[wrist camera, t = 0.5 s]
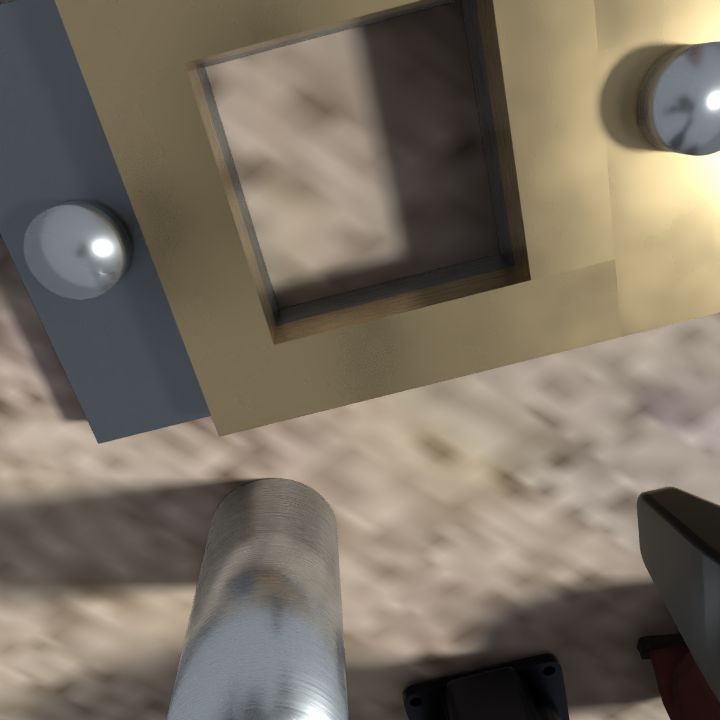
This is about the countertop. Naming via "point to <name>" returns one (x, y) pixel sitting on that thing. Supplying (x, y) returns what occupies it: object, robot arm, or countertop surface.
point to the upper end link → (519, 178)
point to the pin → (266, 612)
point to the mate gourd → (679, 678)
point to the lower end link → (136, 229)
